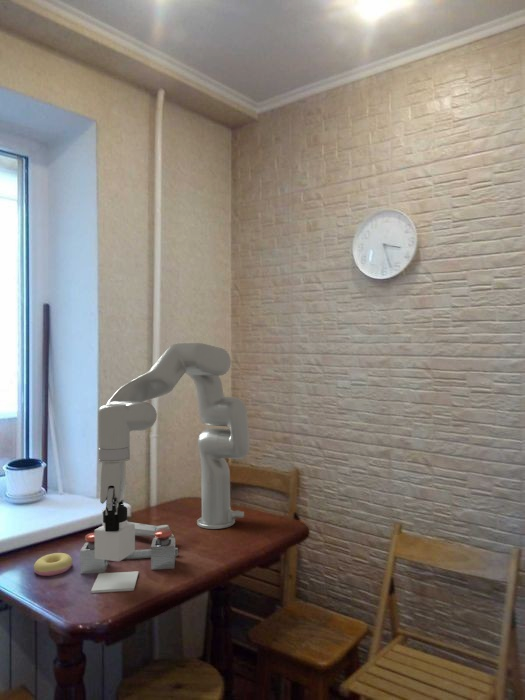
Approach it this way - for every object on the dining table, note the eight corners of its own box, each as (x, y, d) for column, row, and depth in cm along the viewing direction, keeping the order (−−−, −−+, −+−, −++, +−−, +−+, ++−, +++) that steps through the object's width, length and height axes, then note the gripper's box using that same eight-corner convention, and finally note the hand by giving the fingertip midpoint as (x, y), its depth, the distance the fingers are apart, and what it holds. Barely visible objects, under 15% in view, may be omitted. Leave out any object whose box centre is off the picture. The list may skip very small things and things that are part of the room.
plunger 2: (172, 557, 147) (172, 528, 147) (171, 564, 142) (171, 534, 142) (155, 558, 146) (155, 529, 146) (154, 565, 142) (153, 535, 142)
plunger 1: (105, 561, 145) (104, 531, 145) (102, 568, 140) (101, 537, 140) (87, 562, 144) (87, 532, 144) (83, 569, 140) (83, 538, 140)
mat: (138, 573, 138) (138, 571, 138) (133, 590, 129) (133, 587, 129) (98, 575, 137) (98, 573, 137) (90, 593, 127) (90, 590, 127)
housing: (177, 554, 151) (177, 533, 151) (176, 568, 142) (175, 545, 142) (86, 559, 148) (86, 538, 148) (78, 573, 139) (78, 550, 139)
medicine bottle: (135, 551, 135) (135, 504, 135) (119, 562, 128) (118, 511, 129) (111, 548, 137) (111, 501, 138) (94, 558, 131) (93, 509, 131)
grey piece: (121, 518, 174) (176, 520, 159) (123, 539, 173) (178, 543, 159) (108, 522, 169) (163, 525, 155) (110, 544, 169) (165, 549, 154)
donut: (75, 571, 147) (41, 566, 147) (78, 553, 147) (45, 548, 147) (62, 580, 137) (26, 575, 137) (65, 561, 137) (29, 556, 138)
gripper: (105, 448, 141) (105, 516, 141) (91, 461, 124) (92, 538, 124) (134, 447, 142) (134, 514, 142) (124, 460, 125) (125, 536, 125)
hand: (114, 525), depth 133 cm, fingers closed on medicine bottle, 7 cm apart
